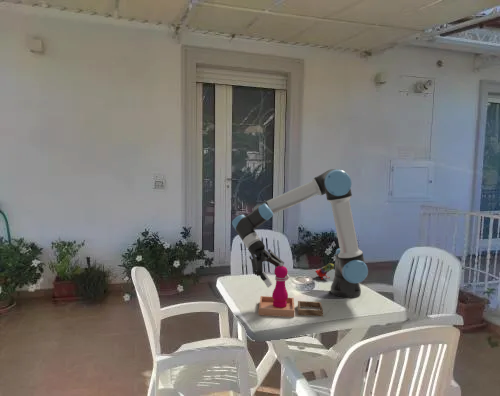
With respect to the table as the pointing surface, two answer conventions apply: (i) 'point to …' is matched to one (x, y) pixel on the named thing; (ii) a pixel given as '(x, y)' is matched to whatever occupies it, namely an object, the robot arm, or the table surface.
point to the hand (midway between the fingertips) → (279, 282)
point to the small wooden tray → (309, 311)
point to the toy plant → (324, 270)
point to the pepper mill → (280, 287)
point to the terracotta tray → (270, 310)
